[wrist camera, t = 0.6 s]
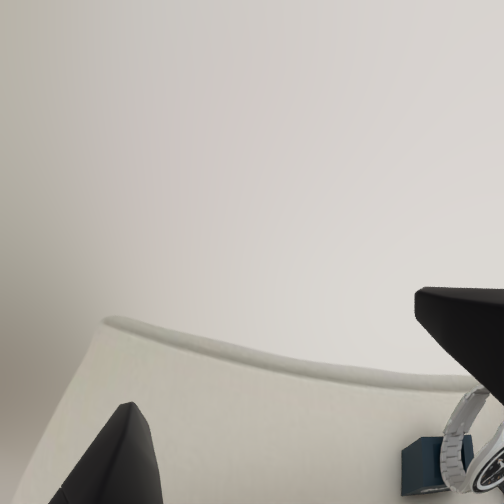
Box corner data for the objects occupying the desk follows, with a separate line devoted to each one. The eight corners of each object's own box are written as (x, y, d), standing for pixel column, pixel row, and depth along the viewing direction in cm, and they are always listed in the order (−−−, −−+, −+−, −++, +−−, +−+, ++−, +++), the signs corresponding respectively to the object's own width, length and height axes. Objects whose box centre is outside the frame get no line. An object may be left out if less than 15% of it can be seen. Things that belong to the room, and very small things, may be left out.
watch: (400, 517, 14) (502, 476, 8) (401, 432, 21) (479, 360, 14) (453, 508, 14) (553, 459, 7) (449, 432, 20) (528, 363, 14)
